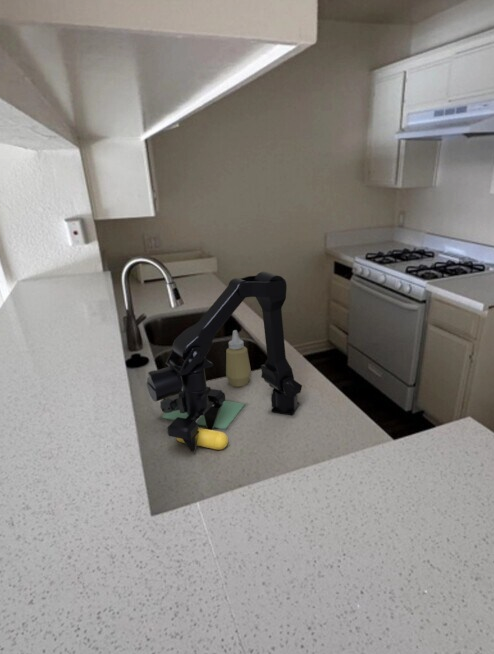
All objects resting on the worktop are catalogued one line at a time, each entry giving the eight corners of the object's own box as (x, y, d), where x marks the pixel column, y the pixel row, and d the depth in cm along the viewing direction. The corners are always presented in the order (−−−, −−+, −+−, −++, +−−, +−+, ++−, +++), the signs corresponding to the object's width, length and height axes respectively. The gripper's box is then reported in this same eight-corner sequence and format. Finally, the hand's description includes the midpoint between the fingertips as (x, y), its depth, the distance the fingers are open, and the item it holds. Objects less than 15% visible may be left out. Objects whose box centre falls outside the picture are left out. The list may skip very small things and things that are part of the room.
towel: (245, 404, 122) (244, 403, 122) (225, 429, 111) (225, 428, 111) (185, 395, 129) (185, 394, 129) (161, 417, 118) (161, 416, 117)
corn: (231, 444, 105) (230, 429, 103) (223, 454, 101) (222, 440, 100) (182, 434, 110) (179, 420, 108) (173, 444, 106) (170, 430, 104)
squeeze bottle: (253, 377, 138) (250, 326, 130) (250, 389, 131) (246, 336, 123) (229, 376, 139) (224, 326, 131) (224, 388, 131) (219, 336, 124)
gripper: (185, 365, 109) (192, 416, 116) (142, 401, 94) (153, 457, 100) (223, 370, 106) (228, 422, 112) (185, 408, 90) (194, 466, 96)
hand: (201, 440), depth 105 cm, fingers open, 9 cm apart
